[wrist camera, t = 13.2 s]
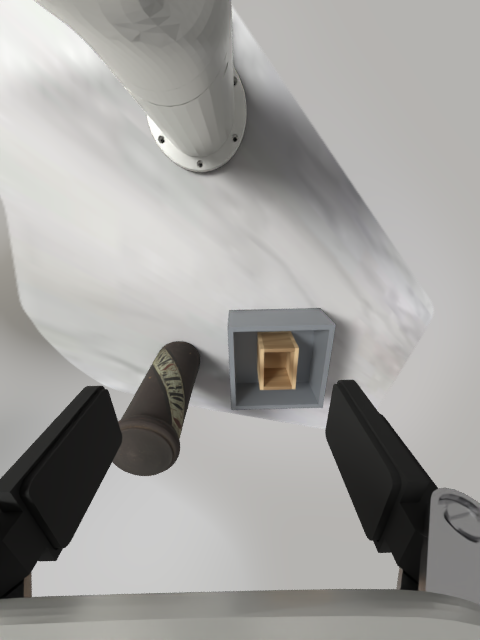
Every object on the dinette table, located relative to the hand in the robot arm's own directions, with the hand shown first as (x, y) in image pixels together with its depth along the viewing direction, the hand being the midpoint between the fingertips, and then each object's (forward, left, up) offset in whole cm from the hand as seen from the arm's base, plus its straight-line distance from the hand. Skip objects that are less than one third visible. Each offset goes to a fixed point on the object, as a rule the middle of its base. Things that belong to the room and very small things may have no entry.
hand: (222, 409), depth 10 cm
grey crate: (+15, +7, -30) cm, 35 cm away
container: (+17, -11, -31) cm, 37 cm away
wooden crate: (+15, +7, -30) cm, 34 cm away
